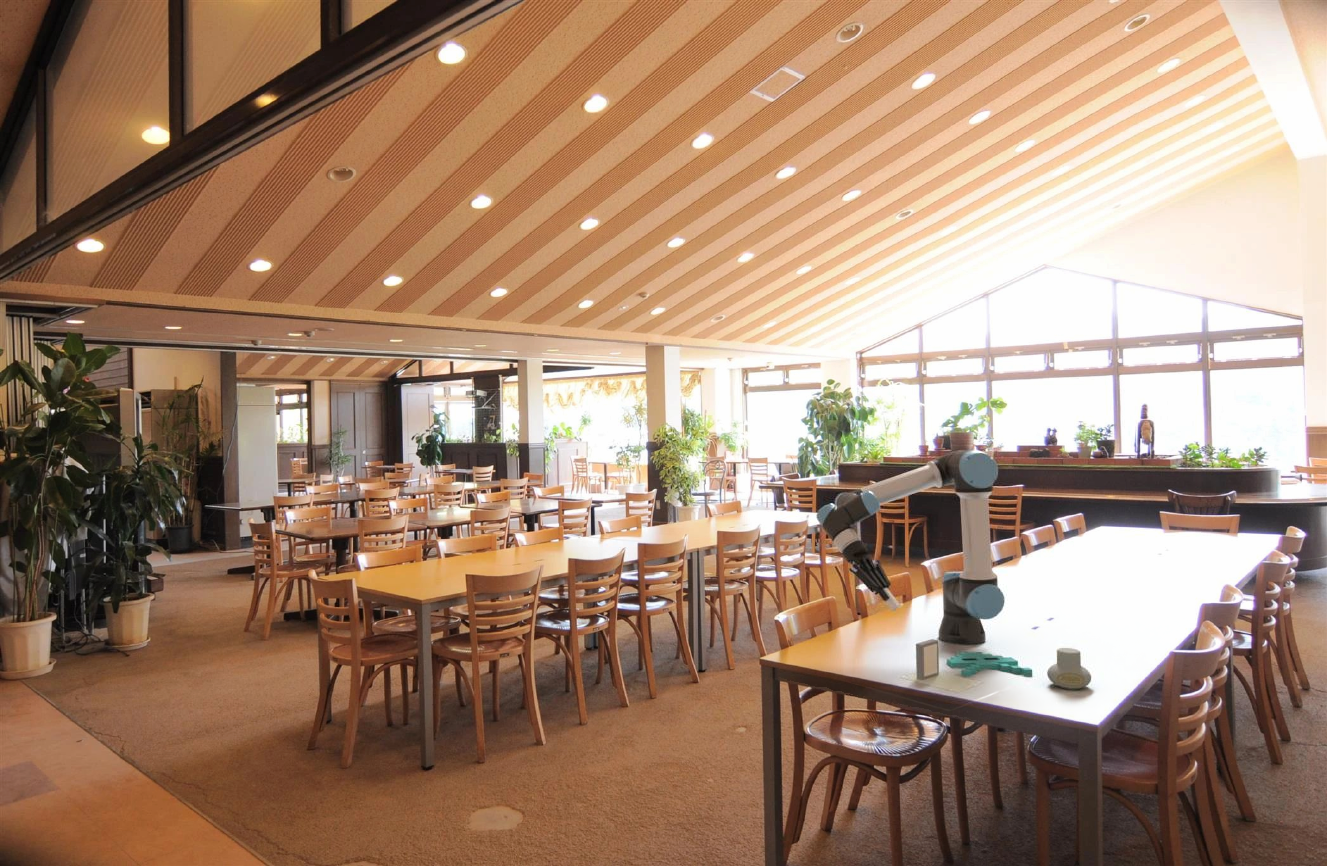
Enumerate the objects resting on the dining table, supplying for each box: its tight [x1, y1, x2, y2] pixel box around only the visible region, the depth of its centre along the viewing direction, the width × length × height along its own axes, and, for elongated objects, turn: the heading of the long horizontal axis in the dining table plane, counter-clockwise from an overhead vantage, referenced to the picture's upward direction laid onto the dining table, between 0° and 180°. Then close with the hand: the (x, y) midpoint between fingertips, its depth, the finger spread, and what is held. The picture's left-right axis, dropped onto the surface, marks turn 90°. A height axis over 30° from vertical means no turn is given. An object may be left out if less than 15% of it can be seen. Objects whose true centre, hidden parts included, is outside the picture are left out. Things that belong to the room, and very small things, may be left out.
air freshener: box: [1046, 647, 1092, 691], centre depth 227 cm, size 11×8×10 cm
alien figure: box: [946, 651, 1033, 677], centre depth 247 cm, size 20×2×20 cm
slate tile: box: [915, 638, 940, 680], centre depth 237 cm, size 2×8×10 cm, turn 128°
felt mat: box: [900, 671, 983, 693], centre depth 234 cm, size 18×13×1 cm
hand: (896, 608), depth 245 cm, fingers closed
